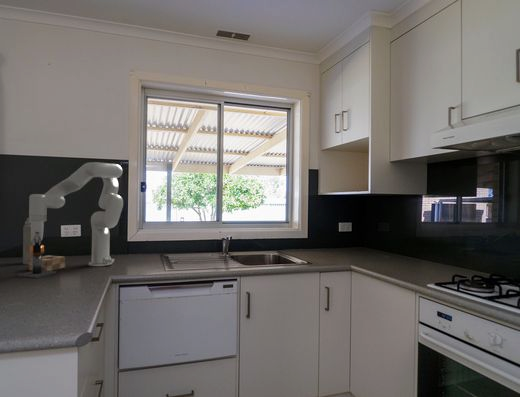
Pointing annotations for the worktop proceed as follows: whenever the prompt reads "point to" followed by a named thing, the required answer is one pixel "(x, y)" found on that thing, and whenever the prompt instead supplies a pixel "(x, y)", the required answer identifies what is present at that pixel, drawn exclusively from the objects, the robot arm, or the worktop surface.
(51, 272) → the mat
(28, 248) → the thermos bottle
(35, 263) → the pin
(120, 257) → the worktop surface
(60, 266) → the eye block
